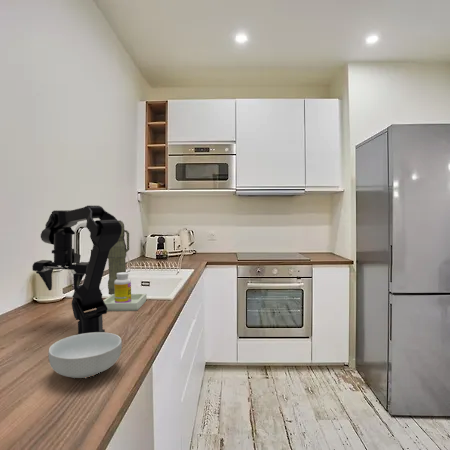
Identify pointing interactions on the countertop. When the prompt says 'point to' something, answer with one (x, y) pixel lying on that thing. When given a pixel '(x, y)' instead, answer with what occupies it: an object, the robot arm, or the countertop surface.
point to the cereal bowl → (85, 354)
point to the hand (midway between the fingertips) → (63, 290)
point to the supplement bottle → (122, 288)
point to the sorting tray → (135, 304)
